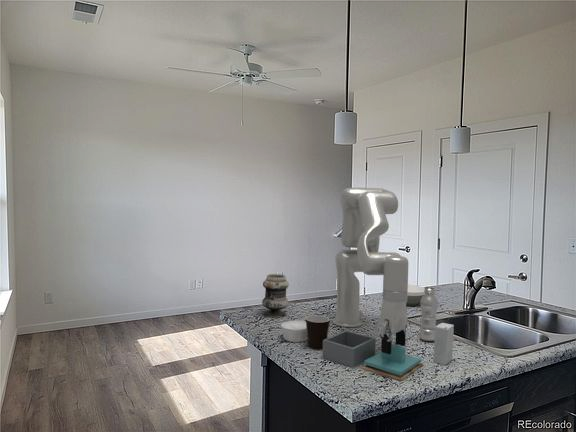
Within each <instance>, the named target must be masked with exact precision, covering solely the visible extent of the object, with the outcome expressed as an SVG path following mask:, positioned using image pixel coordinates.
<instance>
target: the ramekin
mask: <svg viewBox="0 0 576 432" xmlns="http://www.w3.org/2000/svg"><path fill="white" fill-rule="evenodd" d="M280 328H281V331H282V333H281V334H282V337H283V339H284V340H285V341H287V342H290V343H302V342H305V341H308V338H307V327H306V321H305V320H289V321H288V320H287V321H284V322H282V323H281V324H280Z"/></svg>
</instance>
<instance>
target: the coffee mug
mask: <svg viewBox="0 0 576 432" xmlns="http://www.w3.org/2000/svg"><path fill="white" fill-rule="evenodd" d="M330 319H331V318H329V316H324V315H310V316H309V315H308V316H307V317H305V322H306V327H307V338H308V339H307V346H308V348H309V349H312V350H319V351H320V350H323V340H324V339H327V338H328V336H329V335H328V334H329V328H330V322H331V320H330Z"/></svg>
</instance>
